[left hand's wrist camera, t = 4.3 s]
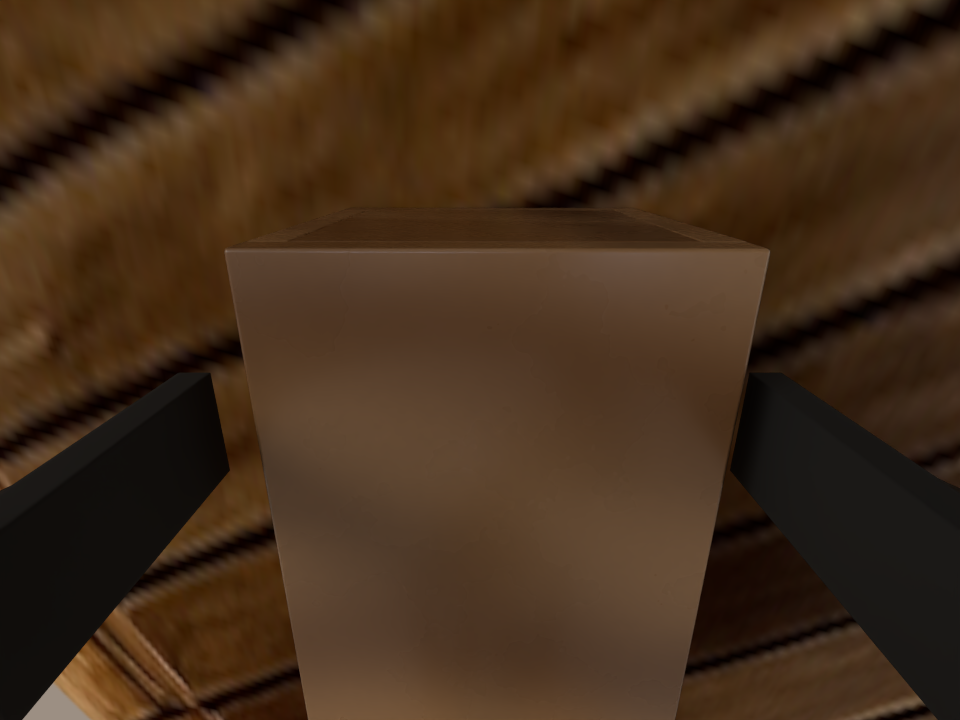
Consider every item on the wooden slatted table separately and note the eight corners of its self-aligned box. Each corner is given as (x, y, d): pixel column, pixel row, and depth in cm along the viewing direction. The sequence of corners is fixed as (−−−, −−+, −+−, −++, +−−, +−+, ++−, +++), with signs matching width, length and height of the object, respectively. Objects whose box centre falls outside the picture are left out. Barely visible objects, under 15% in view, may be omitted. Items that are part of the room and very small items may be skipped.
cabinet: (588, 644, 26) (641, 890, 17) (387, 642, 26) (337, 886, 17) (634, 207, 18) (773, 248, 10) (348, 207, 18) (221, 247, 10)
